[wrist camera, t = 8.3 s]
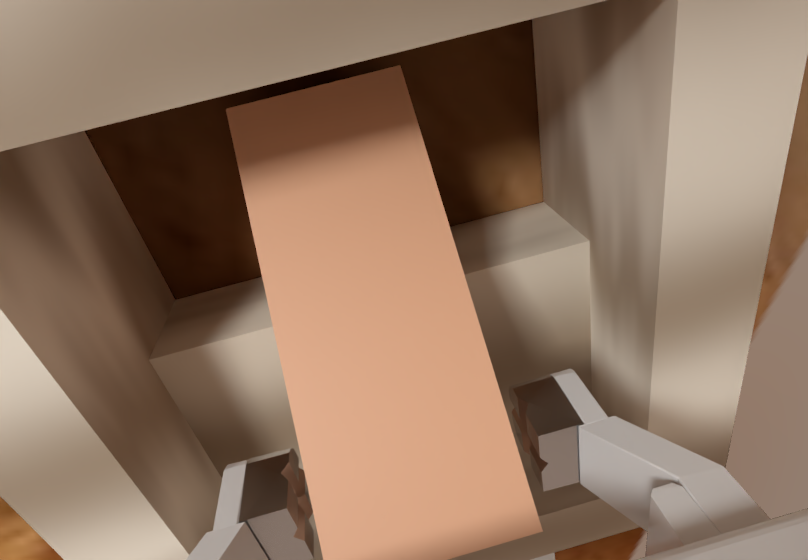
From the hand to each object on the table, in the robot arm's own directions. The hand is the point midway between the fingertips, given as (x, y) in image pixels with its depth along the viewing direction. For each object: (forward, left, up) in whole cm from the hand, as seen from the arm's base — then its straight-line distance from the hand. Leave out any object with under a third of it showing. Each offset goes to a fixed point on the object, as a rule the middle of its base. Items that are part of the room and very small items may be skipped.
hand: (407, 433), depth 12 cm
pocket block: (-1, 0, -6) cm, 6 cm away
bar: (-2, 0, -2) cm, 3 cm away
